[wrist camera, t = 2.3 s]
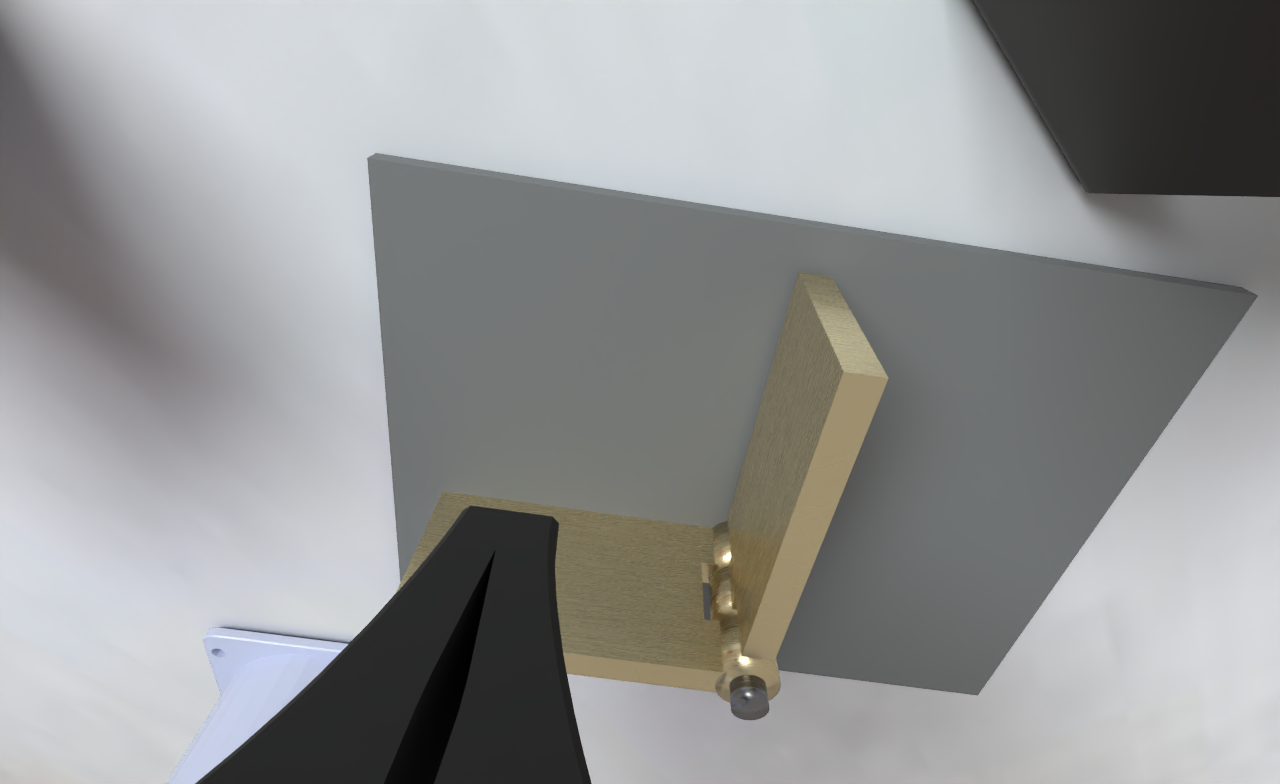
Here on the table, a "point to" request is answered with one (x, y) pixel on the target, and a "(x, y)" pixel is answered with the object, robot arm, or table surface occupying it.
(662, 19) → the table surface
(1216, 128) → the phone stand
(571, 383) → the hinge mat
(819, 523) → the loose leaf
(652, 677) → the fixed leaf
